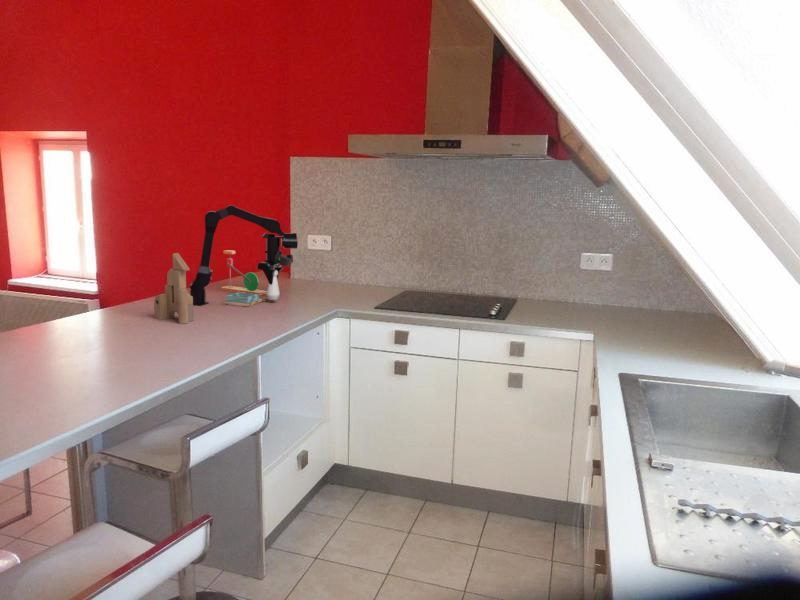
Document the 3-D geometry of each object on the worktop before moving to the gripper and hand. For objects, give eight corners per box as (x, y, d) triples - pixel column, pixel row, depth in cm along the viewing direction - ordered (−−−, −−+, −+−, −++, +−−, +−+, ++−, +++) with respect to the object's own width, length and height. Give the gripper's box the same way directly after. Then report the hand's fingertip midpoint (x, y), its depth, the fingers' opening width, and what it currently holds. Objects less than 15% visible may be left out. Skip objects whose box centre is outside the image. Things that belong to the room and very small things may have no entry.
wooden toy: (153, 318, 218) (150, 252, 213) (167, 315, 223) (165, 251, 219) (183, 324, 211) (181, 256, 206) (197, 321, 217) (195, 254, 212)
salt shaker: (274, 297, 261) (274, 268, 258) (282, 299, 257) (282, 270, 255) (263, 298, 256) (263, 269, 254) (271, 300, 253) (272, 271, 250)
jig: (248, 307, 246) (248, 298, 245) (222, 304, 249) (222, 296, 248) (268, 300, 263) (268, 291, 262) (244, 297, 266) (244, 289, 265)
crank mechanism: (219, 289, 284) (219, 250, 280) (229, 288, 290) (228, 249, 286) (259, 295, 273) (259, 255, 269) (268, 294, 278) (268, 254, 275)
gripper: (280, 251, 242) (280, 288, 245) (299, 247, 260) (298, 282, 262) (256, 249, 244) (256, 286, 247) (276, 246, 262) (276, 280, 265)
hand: (273, 283), depth 255 cm, fingers closed on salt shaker, 3 cm apart
